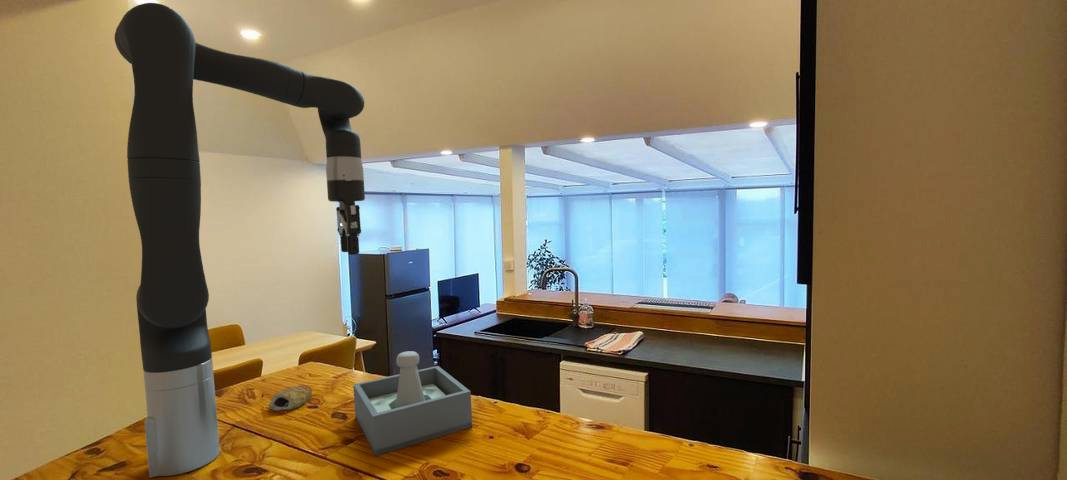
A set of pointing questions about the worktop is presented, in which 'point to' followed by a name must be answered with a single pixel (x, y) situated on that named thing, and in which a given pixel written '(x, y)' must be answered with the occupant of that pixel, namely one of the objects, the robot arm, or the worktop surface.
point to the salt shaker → (408, 380)
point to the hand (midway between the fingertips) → (350, 253)
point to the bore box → (411, 410)
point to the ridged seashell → (290, 398)
